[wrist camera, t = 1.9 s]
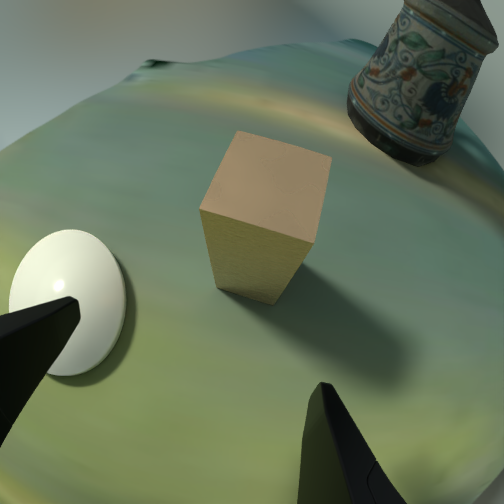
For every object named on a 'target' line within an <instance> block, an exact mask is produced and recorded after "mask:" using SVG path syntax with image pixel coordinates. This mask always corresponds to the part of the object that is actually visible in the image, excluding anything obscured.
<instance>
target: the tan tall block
mask: <svg viewBox="0 0 504 504" xmlns="http://www.w3.org/2000/svg"><path fill="white" fill-rule="evenodd" d="M331 160H332V157H329V156H326V155H323V154H320V153H317V152H314V151H310V150H307V149H304V148H301V147H297V146H294V145H291V144H287V143H284V142H280V141H277V140H273V139H269V138H265V137H262V136H258V135H254V134H250V133H246V132H242V131H237V132H236V134H235V136H234V138H233V140H232V142H231V144H230V146H229V148H228V150H227V152H226V154H225V156H224V158H223V160H222V162H221V164H220V166H219V168H218V170H217V172H216V174H215V176H214V178H213V180H212V182H211V184H210V187H209V189H208V191H207V193H206V195H205V197H204V199H203V202H202V204H201V206H200V208H199V210H200V215H201V220H202V225H203V229H204V234H205V239H206V244H207V248H208V253H209V257H210V262H211V266H212V271H213V275H214V279H215V284H216V288H219V289H222V290H225V291H228V292H231V293H234V294H238V295H241V296H244V297H247V298H250V299H253V300H257V301H260V302H263V303H266V304H269V305H274V304H275V302H276V301H277V299H278V298H279V296H280V295H281V294H282V292H283V291H284V289H285V288H286V286H287V284H288V283H289V281H290V280H291V278H292V277H293V275H294V274H295V272H296V271H297V269H298V268H299V266H300V265H301V263H302V262H303V260H304V258H305V257H306V255H307V254H308V252H309V251H310V249H311V248H312V246H313V244H314V242H315V237H316V233H317V228H318V224H319V219H320V215H321V210H322V205H323V201H324V196H325V191H326V186H327V181H328V176H329V171H330V165H331Z"/></svg>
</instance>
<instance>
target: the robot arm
mask: <svg viewBox="0 0 504 504" xmlns="http://www.w3.org/2000/svg"><path fill="white" fill-rule="evenodd" d="M80 319H81V314H80V306H79V301H78V300H77V299H75V298H73V297H71V296H66V297H63V298H59V299H56V300H52V301H49V302H45V303H42V304H39V305H35V306H32V307H28V308H25V309H21V310H18V311H14V312H11V313H7V314H4V315H0V447H1V445H2V443H3V441H4V440H5V438H6V436H7V434H8V433H9V431H10V429H11V428H12V425H13V424H14V422H15V421H16V419H17V417H18V416H19V414H20V412H21V411H22V409H23V408H24V406H25V404H26V403H27V401H28V400H29V398H30V397H31V395H32V394H33V392H34V391H35V389H36V388H37V386H38V385H39V383H40V382H41V380H42V379H43V377H44V376H45V375H46V373H47V372H48V370H49V369H50V367H51V366H52V365H53V363H54V362H55V360H56V359H57V358H58V356H59V355H60V353H61V352H62V350H63V349H64V347H65V346H66V344H67V342H68V340H69V339H70V337H71V335H72V334H73V332H74V330H75V329H76V327H77V326H78V324H79V322H80ZM297 504H407V503H406V502H405V500H404V499H403V498H402V497H401V495H400V494H399V493H398V491H397V490H396V489H395V487H394V486H393V485H392V483H391V482H390V480H389V479H388V477H387V476H386V474H385V473H384V471H383V470H382V468H381V466H380V465H379V463H378V461H376V458H375V456H374V455H373V453H372V451H371V449H370V448H369V446H368V444H367V443H366V441H365V439H364V438H363V436H362V434H361V433H360V431H359V429H358V427H357V426H356V424H355V422H354V421H353V419H352V417H351V416H350V414H349V412H348V411H347V409H346V407H345V405H344V404H343V402H342V400H341V399H340V397H339V395H338V394H337V392H336V390H335V389H334V387H333V385H332V384H330V383H325V382H320V383H319V384H318V385H317V387H316V388H315V390H314V392H313V393H312V395H311V396H310V399H309V403H308V409H307V415H306V421H305V427H304V432H303V438H302V451H301V465H300V478H299V490H298V500H297Z"/></svg>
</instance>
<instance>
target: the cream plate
mask: <svg viewBox="0 0 504 504" xmlns="http://www.w3.org/2000/svg"><path fill="white" fill-rule="evenodd" d="M66 296H71V297H73V298H75V299H77V300H78V301H79V306H80V314H81V319H80V322H79V324H78V326H77V327H76V329H75V330H74V332H73V334H72V335H71V337H70V339H69V340H68V342H67V344H66V346H65V347H64V349H63V350H62V352H61V353H60V355H59V356H58V358H57V359H56V360H55V362H54V363H53V365H52V366H51V367H50V369H49V370H48V372H47V373H49V374H53V375H58V376H73V375H79V374H82V373H85V372H88V371H89V370H91V369H93V368H95V367H96V366H97V365H98V364H100V363H101V362H102V361H103V360H104V359H105V358H106V357H107V356H108V354H109V353H110V352H111V350H112V349H113V347H114V345H115V344H116V342H117V340H118V338H119V335H120V333H121V330H122V327H123V323H124V319H125V312H126V287H125V282H124V277H123V274H122V271H121V268H120V266H119V264H118V262H117V260H116V259H115V257H114V255H113V254H112V253H111V252H110V250H109V249H108V248H107V247H106V246H105V245H104V244H103V243H102V242H101V241H100V240H98V239H97V238H96V237H94V236H93V235H91V234H89V233H86V232H84V231H80V230H62V231H58V232H55V233H53V234H50V235H48V236H46V237H45V238H43V239H42V240H40V241H39V242H38V243H37V244H35V245H34V246H33V247H32V248H31V249H30V251H29V252H28V253H27V254H26V256H25V257H24V259H23V260H22V262H21V263H20V265H19V267H18V269H17V271H16V274H15V276H14V279H13V283H12V287H11V291H10V299H9V313H11V312H14V311H18V310H21V309H25V308H28V307H32V306H35V305H39V304H42V303H45V302H49V301H52V300H56V299H59V298H63V297H66Z"/></svg>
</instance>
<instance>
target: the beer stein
mask: <svg viewBox="0 0 504 504" xmlns="http://www.w3.org/2000/svg"><path fill="white" fill-rule="evenodd" d="M498 45H499V43H498V41H497V35H496V33H495V31H494V28H493V26H492V24H491V22H490V20H489V18H488V16H487V15H486V12H485V10H484V8H483V6H482V4H481V1H480V0H404V6H403V8H402V10H401V11H400V13H399V14H398V16H397V18H396V19H395V21H394V23H393V24H392V26H391V27H390V29H389V31H388V33H387V34H386V36H385V37H384V39H383V41H382V42H381V44H380V45H379V47H378V48H377V50H376V51H375V53H374V54H373V56H372V57H371V59H370V60H369V62H368V63H367V64H366V66H365V67H364V68H363V69H362V70H361V71H360V72H359V73H358V74H357V75H356V76H355V77H354V78H353V79H352V80H351V82H350V84H349V90H348V98H347V109H348V115H349V117H350V119H351V121H352V123H353V124H354V126H355V128H356V129H357V130H358V131H359V132H360V133H361V134H362V135H363V136H364V137H365V138H366V139H367V140H368V141H369V142H370V143H371V144H373V145H374V146H376V147H377V148H379V149H381V150H382V151H384V152H385V153H387V154H388V155H390V156H391V157H393V158H395V159H398V160H400V161H403V162H406V163H409V164H412V165H415V166H417V167H419V166H422V165H425V164H428V163H431V162H434V161H435V160H436V159H437V158H438V157H439V156H440V155H442V154H444V153H445V152H447V151H448V150H449V148H450V147H451V145H452V142H453V135H454V131H455V127H456V124H457V122H458V119H459V116H460V114H461V112H462V109H463V107H464V105H465V102H466V100H467V98H468V96H469V94H470V92H471V89H472V87H473V85H474V82H475V80H476V78H477V75H478V73H479V70H480V67H481V65H482V62H483V60H484V58H485V57H486V55H487V54H490V53H493V52H494V51H495V50H496V49H497V48H498Z"/></svg>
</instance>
